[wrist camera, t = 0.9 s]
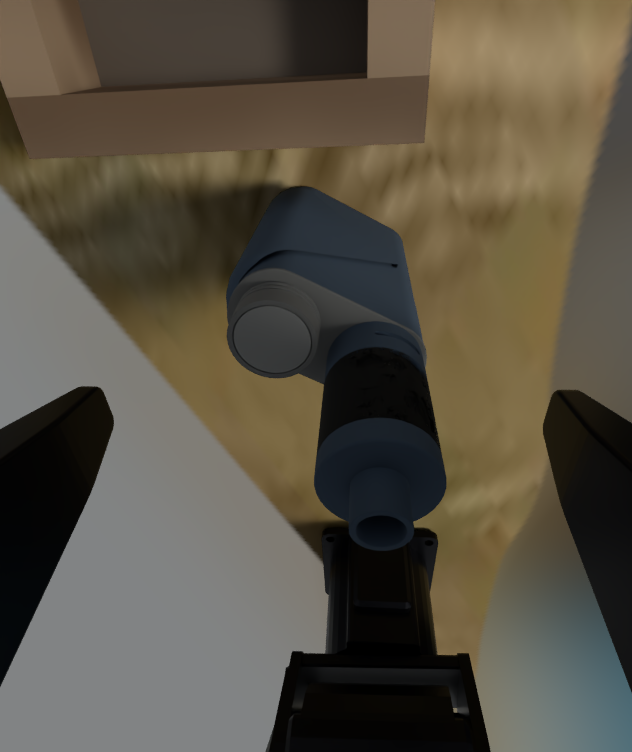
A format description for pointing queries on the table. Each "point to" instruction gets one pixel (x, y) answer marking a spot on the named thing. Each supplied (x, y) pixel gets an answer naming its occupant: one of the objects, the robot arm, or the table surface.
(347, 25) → the socket block
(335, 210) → the vaping device
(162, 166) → the table surface
